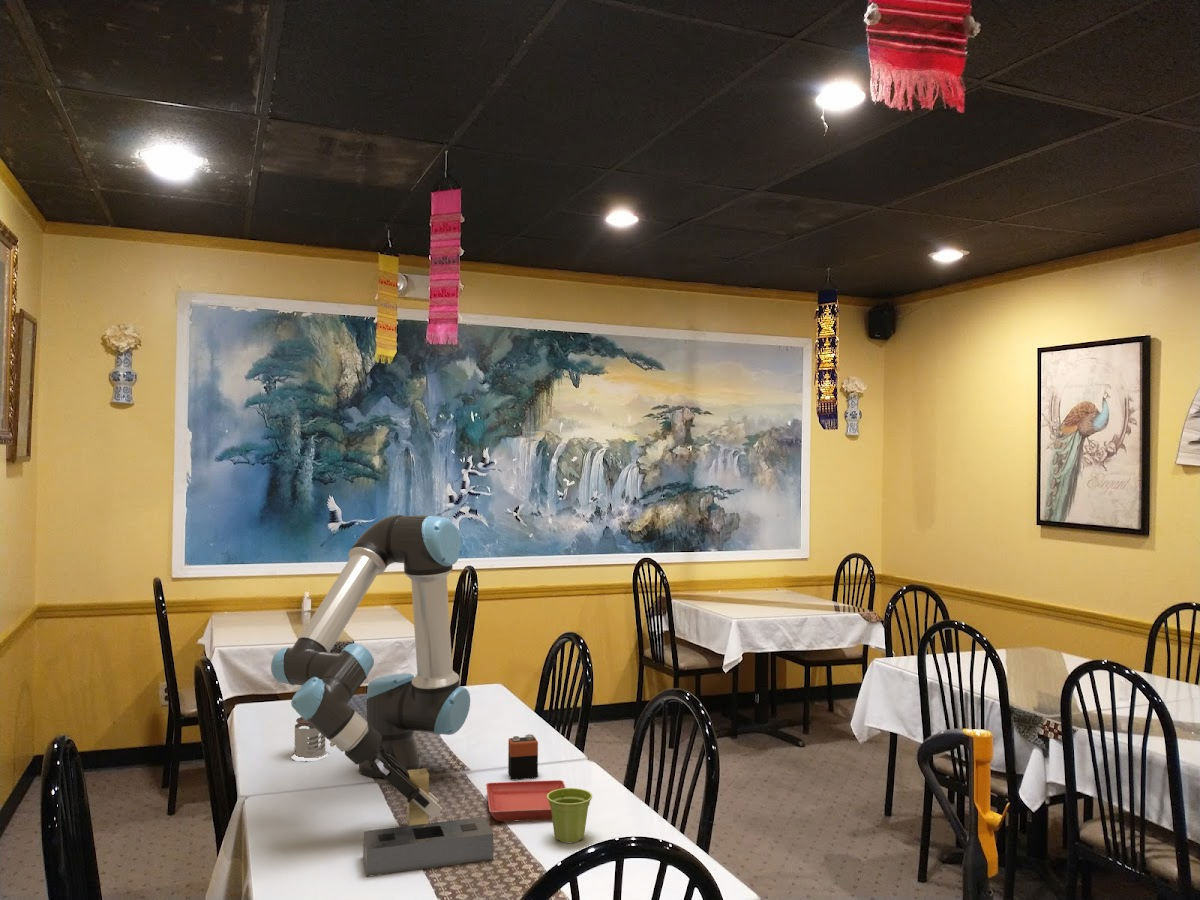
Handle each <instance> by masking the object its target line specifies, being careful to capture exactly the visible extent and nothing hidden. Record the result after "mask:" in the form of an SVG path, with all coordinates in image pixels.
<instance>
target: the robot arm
mask: <svg viewBox="0 0 1200 900" xmlns="http://www.w3.org/2000/svg"><path fill="white" fill-rule="evenodd" d="M461 551H462V541H461V535H460V532H459V530H458V528H457V525H456V524H455V523H453V521H452V520H451V519H449V518H447V517H443V516H437V515H402V514H399V515H398V514H396V515H390V516H386V517H383V518H382V519H380V520H378V521H377V522H376V523H374V524H372V525H371V526H370V527H368V529H366V531H364V532H363V533H362V534H361V535H360V536H359V538H358V539H357V540H356V541H355V543H353V545H352V547H351V549H350V550H349V551H348V561H347V563H346V564H345V566H344V567H343V569H342V570H341V572H340V573H339V575H338V577H337V578H336V580H335V581H334V583H333V584H332V585H331V587H330V589H329V590H328V591H327V594H326V595H325V597H324V598H323V600H322V601H321V603H320V605H319V606H318V607H317V609H316V611H315V612H314V614H313V616H312V617H311V618H310V619H309V622H308V623H307V625H306V626H305V628H304V629H303V630H302V632H301V634H300V635H299V637H298V638H297V640H296V641H295V643H294V645H293V646H292V647H285V648H281V649H280V650H278V651H277V652H276V653H275V654H274V655H273V658H272V661H271V665H270V669H271V675H272V677H273V678H274V679H275V680H276V681H277V682H279V683H282V684H287V685H291V686H301V687H300V688H299V689H298V690H297V691H296V692H295V693H294V695H293V697H292V698H291V702H290V704H291V707H292V708H293V709H294V711H295V712H296V713H298V715H299V716H300V717H302V718H303V719H304V720H306V721H307V722H308V723H310V724H311V725H312V726H313V727H314V728H315V729H316V730H318V731H319V732H320V735H321V734H322V735H323V736H325V739H327V740H328V741H329V742H330V743H329V746H330V747H334V746H335V747H336V748H337V749H338V750H339V751H340V752H344V756H345V757H347V758H348V759H349V760H350V761H351V762H353V764H354V765H358V771H359V773H360V772H361V773H360V774H362V775H363V776H366V777H370V776H371V777H372V778H377V777H383V778H382V779H384V780H385V781H386V782H388V783H389V784H390V785H391V786H392V787H394V788H395V790H397V791H398V792H399V793H400V794H401V795H402V796H404V797H405V798H406V803H407V802H408V803H410V802H411V800H412V801H413V802H414V803H415V804H417V805H418V806H419V807H420V808H421V809H422V810H423V811H424V812H426V813H427V814H428V815H429V817H430V818H431V819H432V820H434V819H435V818H436V817H437V816H439V814H440V813H441V812H442V811H443V807H441V805H440V804H438V803H439V801H440V800H439V799H438V798H437V797H436V796H434V794H433V793H431V792H430V791H429V796H428V795H427V794H426V793H425V792H424V791H423V790H421V789H419V788H417V787H416V786H415V785H414V784H413V783H412V782H411V781H410V780H409V779H408V778H407V770H414V769H421V755H420V753H419V752H418V746H417V742H416V739H415V735H414V734H415V732H420V733H427V734H433V735H437V736H441V735H443V736H444V735H446V736H449V735H450V736H451V735H454V734H456V733H457V732H458V731H460V730H461V728H462V727H463V726H464V724H465V722H466V720H467V718H468V715H469V711H470V708H471V694H470V692H469V690H468V688H466V687H464V686H461V685H460V683H461V682H460V676H459V674H458V673H457V672H455V671H454V669H453V655H452V641H451V640H452V639H451V625H450V624H451V623H450V611H449V610H450V609H449V606H450V605H449V589H448V578H447V577H448V576H449V575H450V574H451V572H452V571H453V565H455V564H456V563H457V562H458V560H459V558H460V553H461ZM394 563H396V564H399V563H400V564H403V569H404V570H403V572H404V573H403V574H404V575H405V576H406V577H408V578H409V579H410V580H411V583H410V584H411V594H412V595H411V596H412V598H411V599H412V612H413V626H414V627H413V628H414V641H415V643H414V644H415V658H416V671H417V672H416V673H417V674H416V675H414V674H412V673H396V674H389V675H385V676H379V677H377V678H374V679H372V680H371V681H370V682H369V683H368V684H367V690H366V691H367V692H366V697H365V699H366V719H365V718H363V716H361V714H360V713H358V712H357V711H356V710H354V709H353V708H352V707H351V706H350V705H349V702H350V701H351V699H352V698H353V696H354V695H355V693H356V692H357V691H358V690H359V689H360V687H361V685H362V684H363V682H364V681H365V680H367V678H368V675H369V674H370V672H371V670H372V669H373V667H374V664H375V660H374V657H373V655H372V652H370V650H368V648H366V647H364V646H363V645H362V644H358V643H350V644H348V645H346V646H345V647H343V648H342V649H341V652H340V653H336V652H331V651H332V649H333V648H334V646H335V645H336V642H337V641H338V640H339V639H340V637H341V635H342V633H343V631H344V629H345V628H346V626H347V624H348V623H349V621H350V619H352V617H353V615H354V613H355V612H356V610H357V608H358V607H359V605H360V604H361V602H362V600H363V599H364V597H365V596H366V594H367V593H368V590H369V589H370V587H371V585H372V584H373V582H374V581H375V578H377V576H378V575H379V576H380V575H383V574H384V572H385V571H386V569H387V567H388V566H389V565H391V564H394ZM371 777H370V778H371ZM407 799H408V800H407Z"/></svg>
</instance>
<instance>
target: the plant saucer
mask: <svg viewBox="0 0 1200 900" xmlns="http://www.w3.org/2000/svg"><path fill="white" fill-rule="evenodd" d="M485 787H486V794H487V801H488V809H489V813H490V814H491V816H492V817H493V818H494V819H495V821H497V822H499V821H502V822H514V821H515V820H521V821H535V820H536V821H539V820H552V812H551V807H550V805H549V800H548V799H547V794H548V793H549V792H551V791H553V790H557V789H562V788H567V787H566V784H565V783H564V781H563V780H561V779H559V780H558V779H557V780H555V779H553V780H532V781H528V780H527V781H504V782H503V781H502V782H501V781H500V782H487V783H486V785H485ZM515 822H516V821H515Z"/></svg>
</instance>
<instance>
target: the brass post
mask: <svg viewBox="0 0 1200 900" xmlns="http://www.w3.org/2000/svg"><path fill="white" fill-rule="evenodd" d="M407 778H408V779H409V780H410V781H411V782H412V783H413V784H414V785H415V786H416V787H417V788H419V789H421V790H423V791H424V792H425V793H426V794H427V795H428V796H429V792H430V773H429V771H428V768H427V767H426V768H424V767H423V768H419V769H414V770H407ZM407 800H408V799H407V798H406V826H412V825H420V824H428V823H430V822H429V820H430V819H429V817H430V816H429V815H428V814H427V813H426V812H424V811H423V810H422V809H421V808H420V807H419V806H418V805H417V804H415V803H414V802H413V801H412V800H411V802H410V803H408V802H407Z"/></svg>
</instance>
